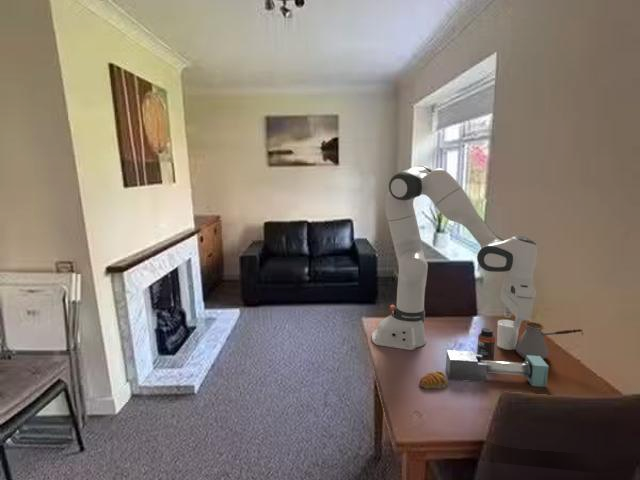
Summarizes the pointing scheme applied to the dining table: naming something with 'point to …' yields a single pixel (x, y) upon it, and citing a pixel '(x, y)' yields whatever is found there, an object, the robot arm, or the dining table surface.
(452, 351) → the sleeve
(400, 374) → the dining table surface
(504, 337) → the white cup
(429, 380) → the pastry
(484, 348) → the supplement bottle
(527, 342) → the coffee pot
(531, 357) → the socket
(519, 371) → the tube
